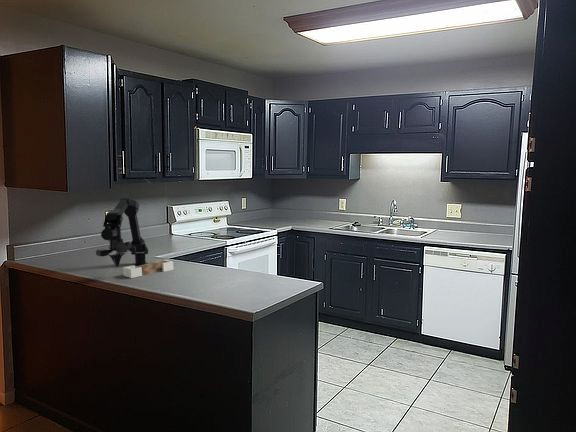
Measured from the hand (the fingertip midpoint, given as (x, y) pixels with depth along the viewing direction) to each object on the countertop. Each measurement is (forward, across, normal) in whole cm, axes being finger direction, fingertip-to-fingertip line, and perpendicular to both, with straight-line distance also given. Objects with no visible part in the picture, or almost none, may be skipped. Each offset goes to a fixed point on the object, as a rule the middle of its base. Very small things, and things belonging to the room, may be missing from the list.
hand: (117, 266), depth 237 cm
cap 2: (+6, +27, 0) cm, 28 cm away
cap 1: (+6, +8, 0) cm, 11 cm away
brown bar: (+7, +20, 0) cm, 22 cm away
